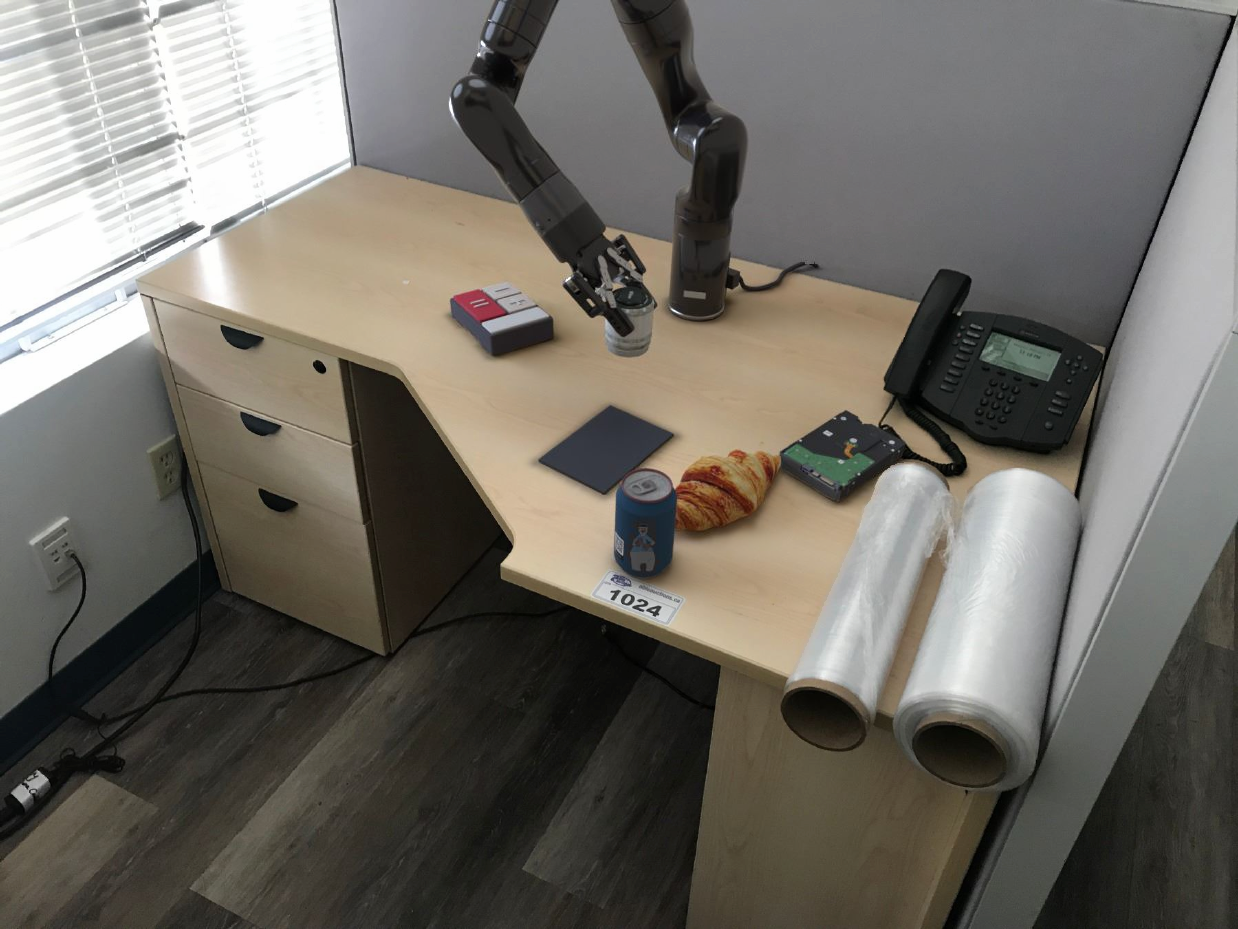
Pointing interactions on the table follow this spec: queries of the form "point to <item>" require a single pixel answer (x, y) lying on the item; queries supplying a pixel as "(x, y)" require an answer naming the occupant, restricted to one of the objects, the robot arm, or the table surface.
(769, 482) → the croissant
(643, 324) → the camera lens
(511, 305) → the calculator
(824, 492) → the disk drive
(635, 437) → the felt mat
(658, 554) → the soda can
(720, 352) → the table surface
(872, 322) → the table surface
